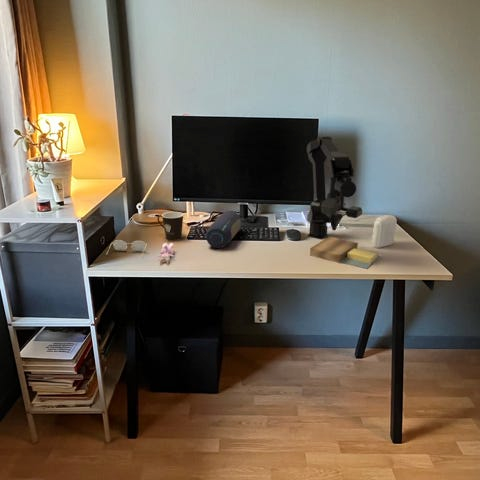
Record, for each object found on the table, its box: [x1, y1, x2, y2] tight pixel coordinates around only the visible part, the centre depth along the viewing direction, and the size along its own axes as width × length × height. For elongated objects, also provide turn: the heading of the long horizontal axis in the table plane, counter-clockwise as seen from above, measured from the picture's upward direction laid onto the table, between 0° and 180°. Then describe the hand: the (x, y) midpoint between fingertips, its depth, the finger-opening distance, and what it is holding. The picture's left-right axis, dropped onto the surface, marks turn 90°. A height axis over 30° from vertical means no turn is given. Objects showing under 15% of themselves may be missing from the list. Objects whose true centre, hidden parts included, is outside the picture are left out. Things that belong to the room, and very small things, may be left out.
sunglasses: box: [106, 239, 148, 257], centre depth 175 cm, size 14×8×5 cm, turn 85°
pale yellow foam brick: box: [347, 248, 378, 264], centre depth 172 cm, size 9×6×2 cm, turn 54°
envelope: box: [340, 214, 379, 228], centre depth 213 cm, size 24×2×14 cm
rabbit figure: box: [157, 242, 175, 265], centre depth 172 cm, size 6×6×15 cm
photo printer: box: [371, 214, 398, 249], centre depth 184 cm, size 10×4×12 cm, turn 123°
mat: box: [340, 254, 382, 270], centre depth 172 cm, size 10×14×1 cm
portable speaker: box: [205, 210, 243, 249], centre depth 190 cm, size 25×10×10 cm, turn 166°
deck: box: [309, 236, 359, 264], centre depth 178 cm, size 12×16×3 cm
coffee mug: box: [157, 211, 184, 242], centre depth 192 cm, size 12×9×10 cm
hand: (334, 230), depth 176 cm, fingers closed
